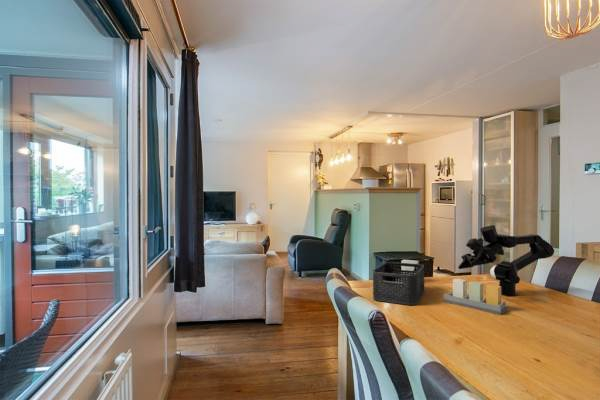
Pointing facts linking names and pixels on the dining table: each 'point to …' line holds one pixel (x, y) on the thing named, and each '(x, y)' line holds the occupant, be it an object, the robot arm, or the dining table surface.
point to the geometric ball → (492, 272)
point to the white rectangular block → (459, 288)
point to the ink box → (407, 266)
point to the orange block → (493, 294)
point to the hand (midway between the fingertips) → (464, 266)
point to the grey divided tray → (476, 304)
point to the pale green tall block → (475, 291)
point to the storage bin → (398, 283)
